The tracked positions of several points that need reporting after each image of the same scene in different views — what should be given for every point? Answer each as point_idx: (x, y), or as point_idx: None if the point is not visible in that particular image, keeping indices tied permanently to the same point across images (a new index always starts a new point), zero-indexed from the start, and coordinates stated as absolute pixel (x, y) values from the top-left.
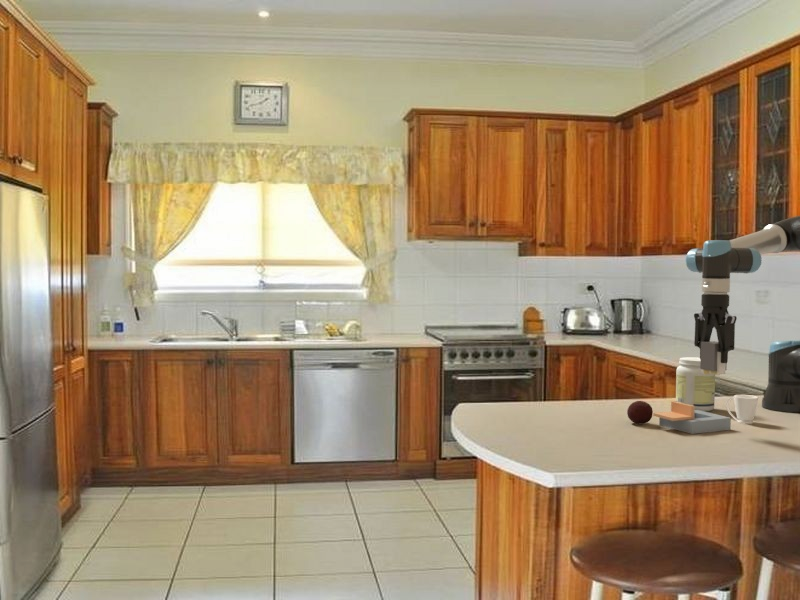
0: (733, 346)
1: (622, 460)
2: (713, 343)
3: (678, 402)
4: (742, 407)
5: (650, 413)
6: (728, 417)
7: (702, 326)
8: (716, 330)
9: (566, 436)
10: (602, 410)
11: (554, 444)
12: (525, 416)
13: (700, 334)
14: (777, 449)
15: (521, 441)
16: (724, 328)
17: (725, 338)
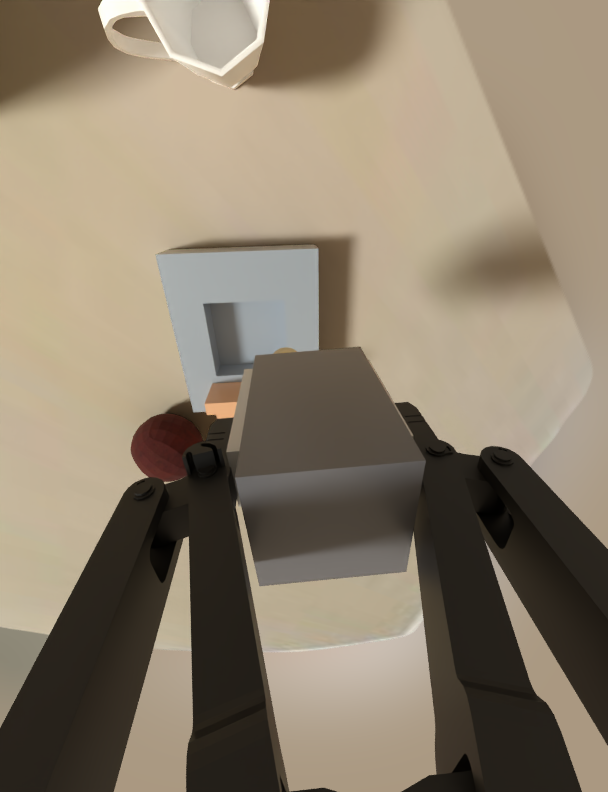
0: (527, 477)
1: (407, 573)
2: (392, 572)
3: (228, 405)
4: (240, 73)
5: (199, 440)
6: (310, 252)
7: (82, 750)
8: (437, 701)
9: (252, 575)
10: None
11: (294, 600)
12: (69, 572)
13: (144, 620)
14: (528, 316)
15: (262, 620)
16: (525, 695)
17: (521, 592)
